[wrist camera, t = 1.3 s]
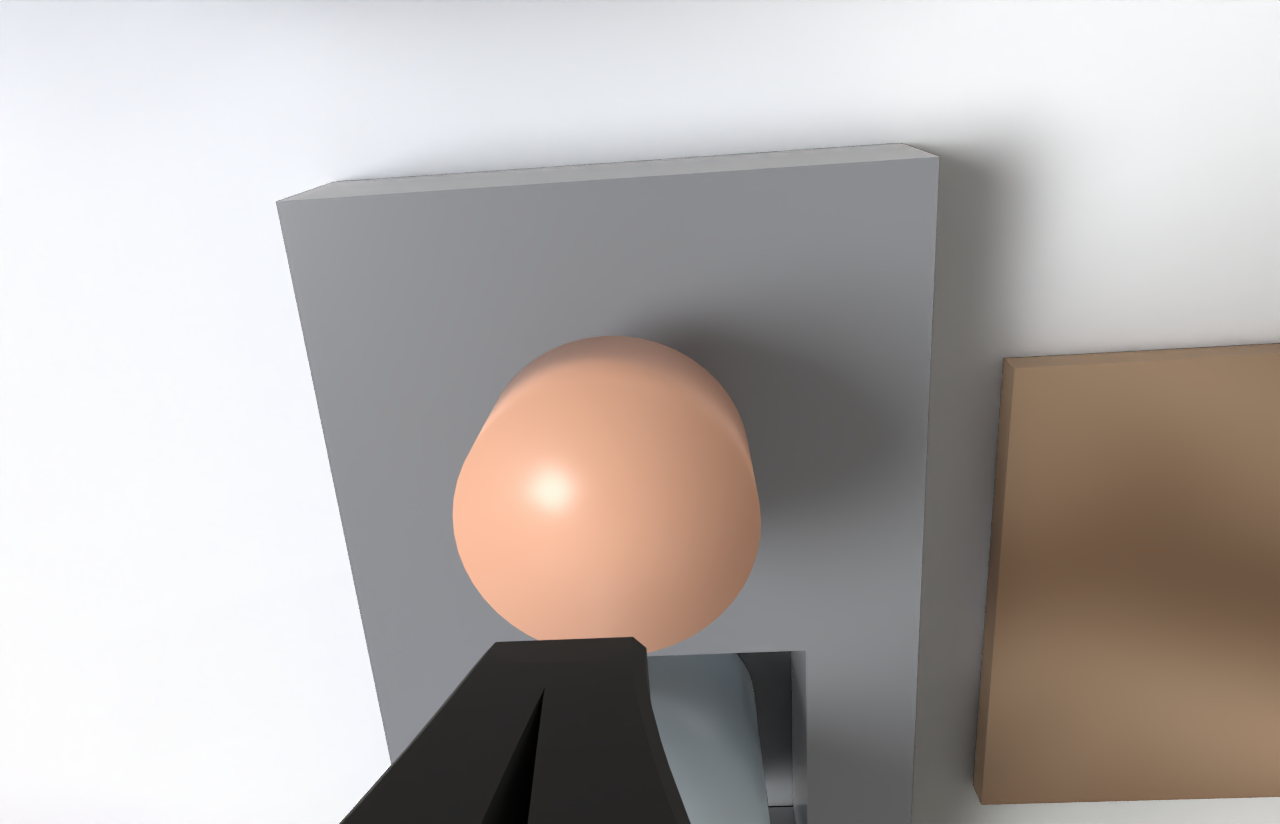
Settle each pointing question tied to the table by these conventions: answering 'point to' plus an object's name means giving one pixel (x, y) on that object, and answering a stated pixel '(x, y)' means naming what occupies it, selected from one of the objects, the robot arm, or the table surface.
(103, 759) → the table surface
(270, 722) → the table surface
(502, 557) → the plunger
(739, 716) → the cylinder
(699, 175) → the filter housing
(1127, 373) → the walnut pad
